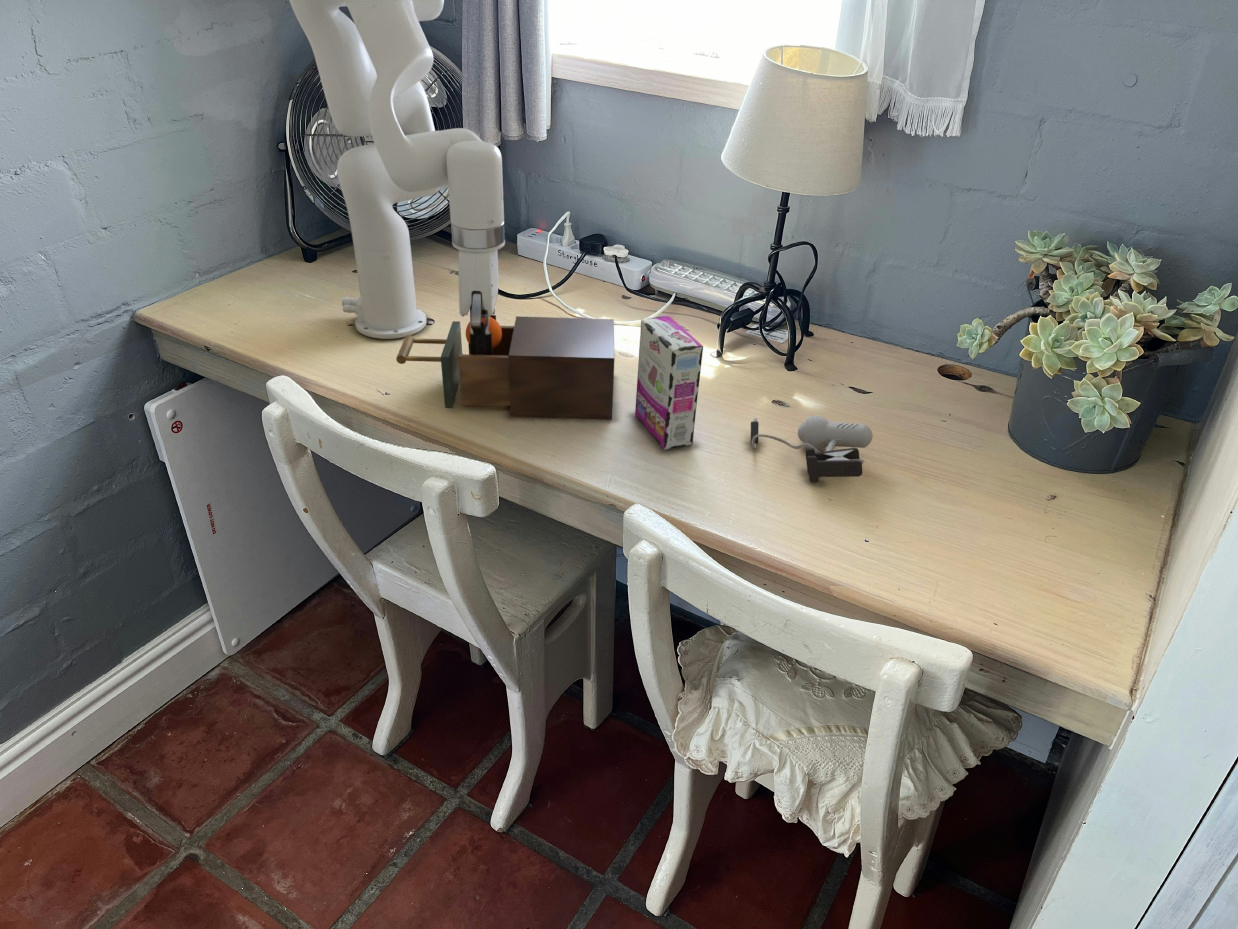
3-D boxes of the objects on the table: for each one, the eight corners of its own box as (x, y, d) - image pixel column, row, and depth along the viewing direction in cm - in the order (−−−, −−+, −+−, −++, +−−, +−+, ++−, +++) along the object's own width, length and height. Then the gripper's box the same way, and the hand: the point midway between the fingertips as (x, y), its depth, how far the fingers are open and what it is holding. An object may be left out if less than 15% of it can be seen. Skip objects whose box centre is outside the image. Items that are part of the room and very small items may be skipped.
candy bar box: (694, 445, 130) (705, 345, 120) (664, 452, 128) (672, 351, 119) (662, 409, 138) (669, 313, 129) (633, 414, 136) (639, 317, 127)
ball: (497, 359, 133) (495, 326, 130) (462, 355, 133) (459, 322, 130) (506, 343, 137) (505, 311, 134) (472, 340, 138) (470, 307, 135)
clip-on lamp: (736, 478, 128) (861, 489, 120) (731, 442, 125) (858, 451, 117) (759, 433, 136) (877, 441, 128) (755, 399, 133) (876, 404, 125)
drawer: (397, 407, 134) (391, 355, 129) (412, 368, 144) (406, 319, 139) (539, 410, 134) (538, 359, 129) (544, 372, 145) (543, 323, 140)
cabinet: (510, 417, 134) (508, 355, 128) (517, 374, 145) (516, 316, 139) (612, 419, 135) (614, 358, 129) (611, 377, 146) (613, 319, 140)
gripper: (460, 213, 132) (467, 323, 142) (442, 254, 118) (451, 373, 128) (509, 214, 132) (513, 324, 142) (498, 256, 118) (503, 375, 128)
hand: (484, 346), depth 135 cm, fingers closed on ball, 5 cm apart
